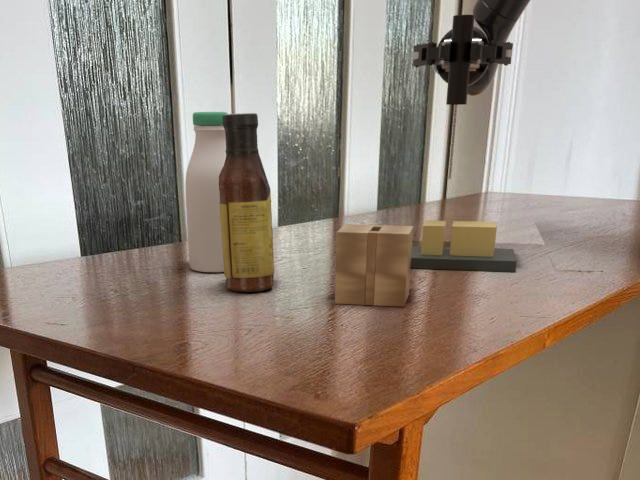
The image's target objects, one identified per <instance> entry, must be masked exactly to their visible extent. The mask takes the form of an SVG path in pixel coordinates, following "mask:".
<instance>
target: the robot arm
mask: <svg viewBox="0 0 640 480" xmlns="http://www.w3.org/2000/svg"><path fill="white" fill-rule="evenodd" d="M530 2H531V0H475V3H474V5H473V7H472V9H471V10H472V11H471V15H474V22H475V23H476V25H478V26H479V27H480V28H478V27H476V26H474V27H473V38H472V42H471V53H470V71H469V82H468V92H467V96H468V95H469V96H471V97H475V96H478V95H481V94H482V93H484V92H485V91H486V90H487V89H488V88H489V87H490V85H491V84H492V83H493V81H494V78H495V76H496V73H497V70H498V67H499V65H504V66H509V65H511V64H512V57H513V49H514V48H513V47H514V43H513V42H511V41H508V39H509V37H510V35H511V33H512V31H513V29H514V28H515V25H516V24H517V22H518V21H519V19H520V18H521V16H522V14H523V12H524V11H525V10H526V8H527V6H528V5H529V4H530ZM451 39H452V29H450V30H449V31H447V32H446V33H445V34H444V36H442V38H441V39H440V41H439V43H437V42H435V41H430V42H427V43H422V44H415V45H414V46H413V56H412V67H414V68H419V67H427V66H431V67H432V70H433V71H434V72H435V73H436V74H437V75H439V77H440V78H441V79H442V80H443V81H444V82H445V83H446V84H448V76H449V64H450V54H451Z"/></svg>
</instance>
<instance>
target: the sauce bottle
mask: <svg viewBox="0 0 640 480" xmlns="http://www.w3.org/2000/svg"><path fill="white" fill-rule="evenodd" d="M258 119H259V117H258V114H257V112H243V113H241V112H240V113H227V114H225V115H223V127H224V129H225V136H226V151H225V152H226V160H225V163H224V166H223V168H222V170H221V172H220V175H219V191H220V202H219V206H220V219H221V233H222V248H223V262H224V272H223V273H224V278H225V286H226V289H228V290H231V291H233V292H235V293H237V292H239V293H257V292H262V291H267V290H270V289H271V288H273V286H274V284H275V283H274V281H275V280H274V277H275V275H274V274H275V260H274V257H275V256H274V231H273V215H272V214H273V212H272V195H271V194H272V193H271V192H272V191H271V187H270V184H269V180H268V177H267V175H266V171H265V168H264V165H263V162H262V159H261V156H260V152H259V148H258V145H259V144H258V126H259V120H258Z"/></svg>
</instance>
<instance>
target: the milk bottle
mask: <svg viewBox="0 0 640 480" xmlns="http://www.w3.org/2000/svg"><path fill="white" fill-rule="evenodd" d="M225 114H228V112H226V111H196V112H193V113H192V124H193V131H194V133H195V134H194V135H195V136H194V137H195V138H194V145H193V149H192V153H191V156H190V159H189V161H188V165H187V166H186V172H185V184H184V185H185V186H184V187H185V188H184V189H185V190H184V191H185V211H186V212H185V215H186V231H187V249H188V263H189V267H190V269H191V270H193V271H196V272H202V273H224V262H223V248H222V233H221V219H220V206H219V202H220V191H219V175H220V172H221V170H222V168H223V166H224V163H225V160H226V152H225V151H226V136H225V129H224V127H223V115H225Z"/></svg>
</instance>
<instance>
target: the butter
mask: <svg viewBox="0 0 640 480" xmlns="http://www.w3.org/2000/svg"><path fill="white" fill-rule="evenodd" d="M446 229H447V220H425V221H424V223H423V224H422V231H421V233H422V234H421V245H412V254H411V269H419V270H442V271H443V270H444V271H446V270H447V271H475V272H500V273H501V272H503V273H504V272H506V273H515V272H516V271H517V257H516V253H515V249H514V248H499V247H496V240H497V239H496V238H497V229H498V225H497V221H471V220H470V221H468V220H467V221H465V220H453V221H452V224H451V235H450V245H449V246H445V243H446V241H445V240H446Z"/></svg>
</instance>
